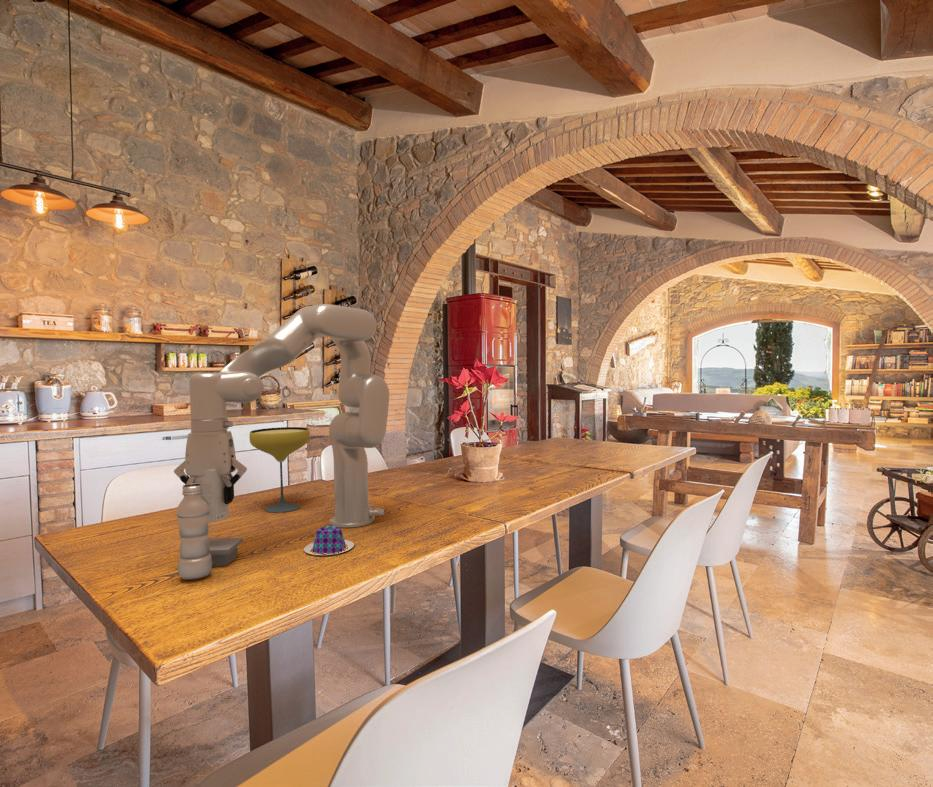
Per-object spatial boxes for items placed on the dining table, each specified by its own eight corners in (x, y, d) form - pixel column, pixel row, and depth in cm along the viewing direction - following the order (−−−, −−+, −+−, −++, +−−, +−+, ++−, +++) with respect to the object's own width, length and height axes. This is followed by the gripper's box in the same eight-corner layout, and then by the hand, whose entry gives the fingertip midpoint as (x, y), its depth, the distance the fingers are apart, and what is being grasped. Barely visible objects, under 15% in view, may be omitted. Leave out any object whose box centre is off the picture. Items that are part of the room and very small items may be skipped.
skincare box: (229, 517, 128) (227, 466, 128) (215, 522, 124) (213, 469, 124) (208, 515, 130) (207, 465, 130) (194, 520, 126) (192, 468, 126)
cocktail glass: (320, 509, 173) (317, 430, 172) (260, 519, 163) (257, 435, 161) (301, 498, 188) (299, 425, 186) (245, 507, 177) (243, 430, 176)
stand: (243, 553, 132) (242, 537, 132) (228, 567, 123) (228, 549, 123) (201, 555, 132) (200, 538, 132) (183, 568, 123) (182, 551, 123)
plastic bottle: (185, 572, 121) (182, 482, 120) (217, 571, 121) (214, 481, 120) (172, 584, 114) (168, 489, 113) (206, 582, 115) (202, 487, 114)
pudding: (358, 541, 141) (357, 521, 141) (348, 557, 129) (347, 535, 129) (311, 542, 141) (310, 522, 141) (297, 558, 129) (296, 536, 129)
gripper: (253, 424, 130) (255, 498, 131) (178, 425, 129) (181, 500, 130) (241, 427, 123) (244, 506, 124) (162, 429, 122) (165, 508, 123)
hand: (211, 502), depth 127 cm, fingers closed on skincare box, 7 cm apart
